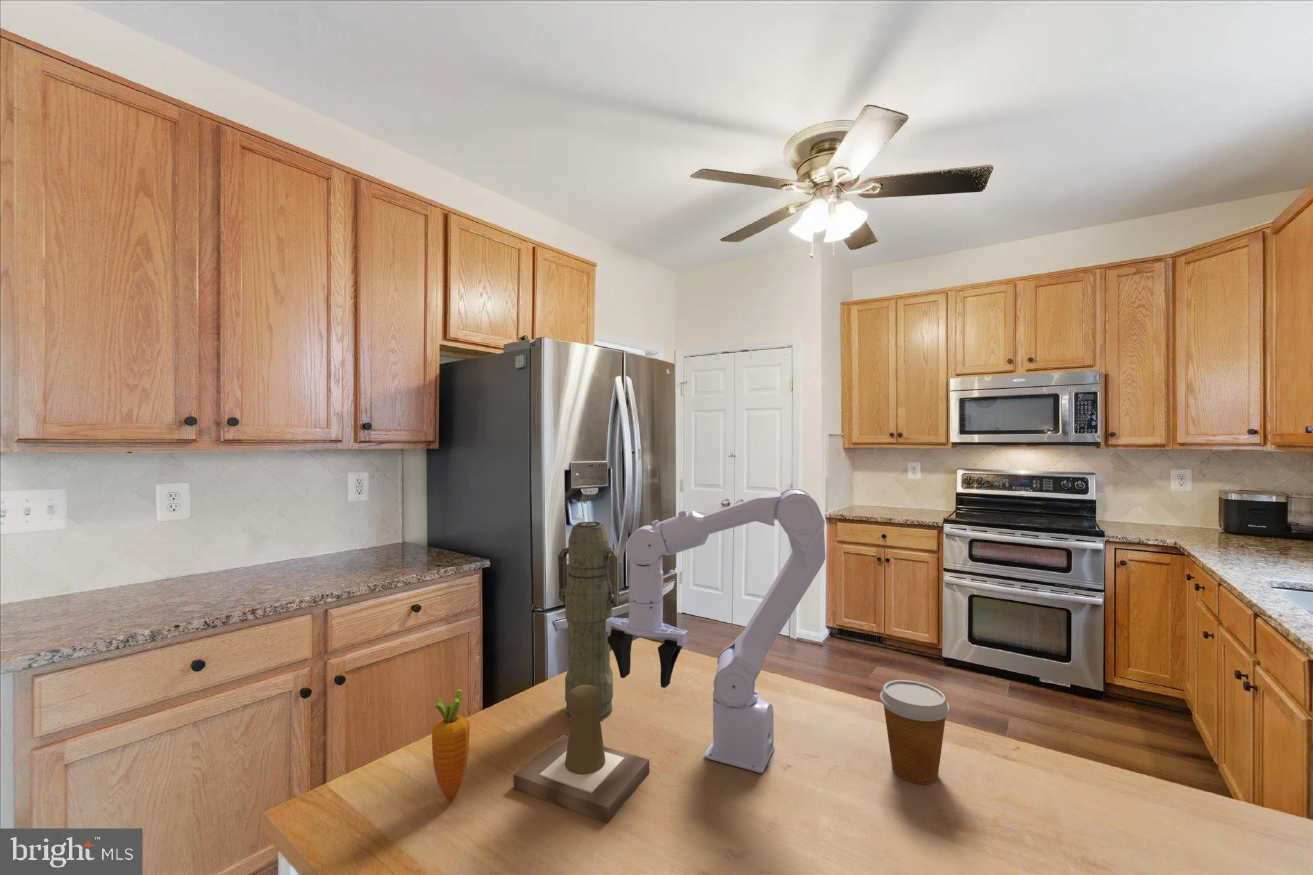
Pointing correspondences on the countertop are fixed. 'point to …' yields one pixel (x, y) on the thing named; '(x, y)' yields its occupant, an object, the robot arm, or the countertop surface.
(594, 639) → the thermos
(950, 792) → the countertop surface
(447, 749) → the carrot
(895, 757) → the disposable coffee cup
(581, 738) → the olive pawn piece
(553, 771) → the walnut plinth
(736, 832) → the countertop surface
